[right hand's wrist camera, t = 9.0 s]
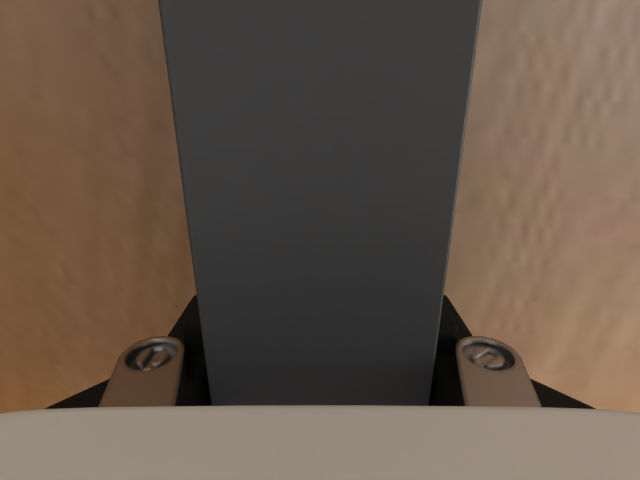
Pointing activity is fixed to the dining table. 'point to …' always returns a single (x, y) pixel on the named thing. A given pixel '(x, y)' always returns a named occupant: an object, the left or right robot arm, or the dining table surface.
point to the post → (320, 189)
